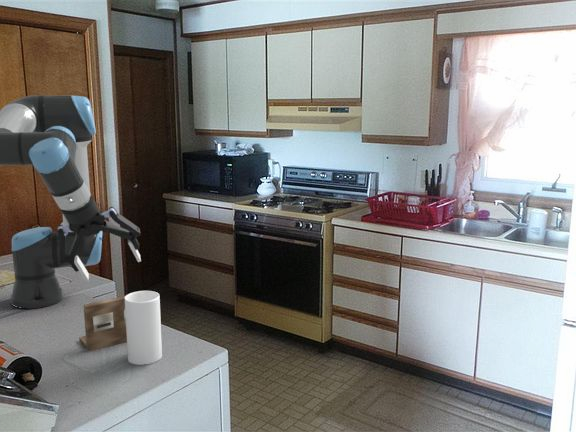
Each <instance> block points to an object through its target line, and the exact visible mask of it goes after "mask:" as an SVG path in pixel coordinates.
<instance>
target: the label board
mask: <svg viewBox="0 0 576 432" xmlns="http://www.w3.org/2000/svg"><path fill="white" fill-rule="evenodd" d="M125 296H126V295H123V296H118V297H113V298H109V299H105V300H104V299H103V300H100V301H95V302H91V303H86V304H83V316H84V329H85V331H84V333H85V335H82V336H79V337H78V338H79V342H80V343H81V345H83V347H84V348H85V349H86V350H87V351H88V352H93V351H96V350H101V349H104V348H107V347H111V346H115V345H118V344H123V343H127V333H126V315H125Z"/></svg>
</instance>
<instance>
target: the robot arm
mask: <svg viewBox="0 0 576 432" xmlns="http://www.w3.org/2000/svg"><path fill="white" fill-rule="evenodd" d="M96 134H97V129H96V123H95V120H94V114H93V110H92V105H91V102H90V100H89V98H88V97H86V96H79V95H74V94H73V95H39V94H33V95H26V96H22V97H20V98H17V99H14V100H12V101H11V102H8V103H7V104H6V105H5V106H3V107H2V108H1V109H0V166H1V167H2V166H3V167H4V166H33V168H34V169H35V170H36V172H37V173H38V174H39V176H40V178H41V179H42V181H43V182H44V184H45V186H46V187H47V189H48V191H49V192H50V194H51V196H52V198H53V199H54V201H55V203H56V205H57V206H58V208H59V210H61V213H62V222H61V223H60V224H58V226H57V231H53V229H52V228H51V227H50V226H41V227H33V228H29V229H26V230H22V231H20V232H17V233H15V234H14V235H13V236H12V238H11V253H12V262H13V263H12V264H13V273H14V283H13V287H12V293H11V295H10V304H11V303H12V304H13V305H15V306H17V307H21V308H27V309H26V310H28V309H29V310H31V309H39V308H44V307H49V306H53V305H54V304H55V305H56V304H58V303H60V302H61V301H62V300H63V298H64V292H63V291H64V290H63V289H62V287H61V285H60V283H59V281H58V277H57V276H56V275H57V274H56V269H62V268H63V269H64V268H72V269H73V271H74V272H76V273H77V272H79V273H80V275H81V276H82V278H83V279H84V281H85V282H89V281H90V280H89V279H90V274H89V272H88V270H87V268H86V267H87V266H95V265H97V264H99V263H100V261H101V256H102V245H103V243H102V242H103V241H102V240H103V233H109V234H112V235H114V236H116V237H119V238H122V239H125V240H127V244H128V246H129V248H130V250H131V251H132V253H133V256H134V257H135V259H136V261H137V262H138V263H140V262H142V259H141V254H140V252H139V249H140V243H139V241H138V239H137V238H138V237H141V235H142V234H141V229H140V227H139V226H137V225H136V224H134V223H133V222H132V221H130V220H129V219H127V218H126V217H125V216H123V215H121V214H120V213H118V211H117V210H116V209H115V207H113V206H110V207H109V208H108V210H105V211H101V210H100V208H99V206H98V205H97V203H96V201H95V198H94V197H93V196H92V194H91V188H90V187H91V186H90V175H89V174H90V173H89V172H90V171H89V162H88V161H89V159H88V145H89V144H90V143H91V142H92V140H93V139H92V136H95V135H96ZM106 218H107V219H109V220H113V221H114V222H115V223H116V224H118V225H119V226H118V225H115V224H113V223H111V222H110V221H108V220H106Z"/></svg>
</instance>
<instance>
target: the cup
mask: <svg viewBox="0 0 576 432" xmlns="http://www.w3.org/2000/svg"><path fill="white" fill-rule="evenodd" d="M124 296H125V315H126V333H127V341H126V344H127V345H126V348H127V361H128V363H130V364H133V365H137V364H138V365H137V366H145V364H146V365H151V364H154V363H157V362H158V361H160V360H161V359H162V357H163V346H162V343H163V342H162V323H161V303H160V302H161V299H160V293H158V292H156V291H152V290H138V291H133V292H130V293H128V294H126V295H124Z"/></svg>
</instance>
